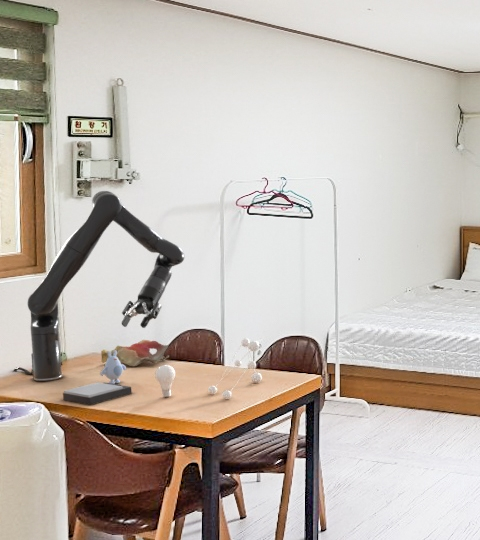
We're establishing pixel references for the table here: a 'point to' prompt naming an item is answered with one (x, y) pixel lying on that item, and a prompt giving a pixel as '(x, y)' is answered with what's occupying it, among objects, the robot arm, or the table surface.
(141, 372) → the table surface
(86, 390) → the scale
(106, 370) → the toy figure
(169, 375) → the lightbulb
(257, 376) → the molecule model
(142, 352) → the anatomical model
